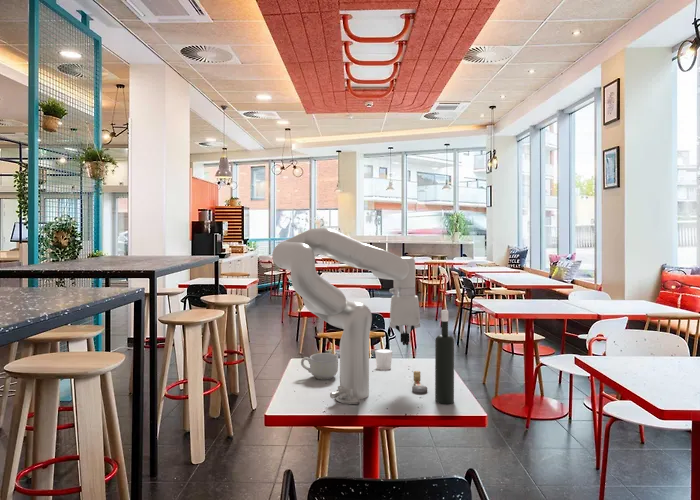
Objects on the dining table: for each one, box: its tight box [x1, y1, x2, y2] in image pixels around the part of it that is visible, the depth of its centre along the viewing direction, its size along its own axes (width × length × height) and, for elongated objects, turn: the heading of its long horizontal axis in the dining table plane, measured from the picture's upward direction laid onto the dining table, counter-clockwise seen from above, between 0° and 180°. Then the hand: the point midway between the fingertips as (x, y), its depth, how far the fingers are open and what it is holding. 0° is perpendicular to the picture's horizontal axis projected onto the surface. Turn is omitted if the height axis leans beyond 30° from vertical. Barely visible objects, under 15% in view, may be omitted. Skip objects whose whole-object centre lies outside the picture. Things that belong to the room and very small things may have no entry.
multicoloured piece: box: [411, 370, 428, 395], centre depth 172 cm, size 13×5×4 cm, turn 178°
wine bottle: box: [434, 309, 455, 406], centre depth 158 cm, size 6×6×30 cm
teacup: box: [300, 352, 339, 381], centre depth 190 cm, size 14×11×8 cm
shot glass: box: [374, 348, 393, 371], centre depth 203 cm, size 7×7×7 cm
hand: (405, 344), depth 178 cm, fingers closed
